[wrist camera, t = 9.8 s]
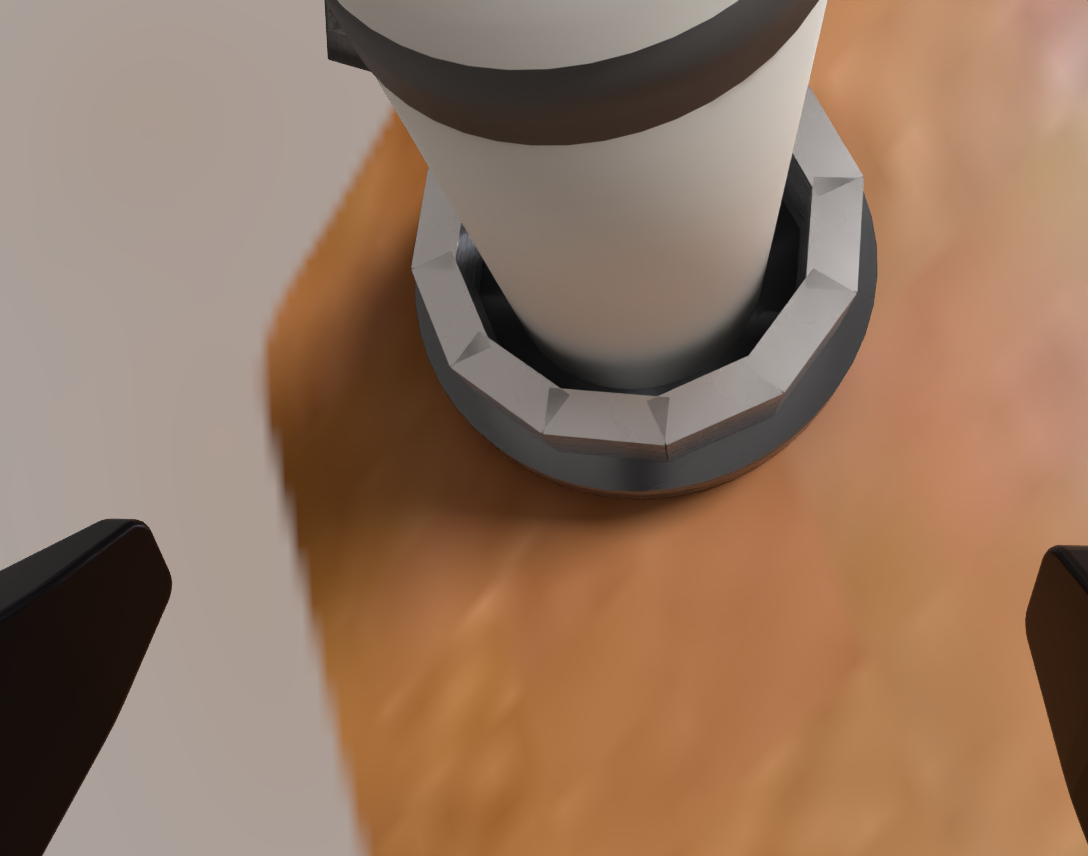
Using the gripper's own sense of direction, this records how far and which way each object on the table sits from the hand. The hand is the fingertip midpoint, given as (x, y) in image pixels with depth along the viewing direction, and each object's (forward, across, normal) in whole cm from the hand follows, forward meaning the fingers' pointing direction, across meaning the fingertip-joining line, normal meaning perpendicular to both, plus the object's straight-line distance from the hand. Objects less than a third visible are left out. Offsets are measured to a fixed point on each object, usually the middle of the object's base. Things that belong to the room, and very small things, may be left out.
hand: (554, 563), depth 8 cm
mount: (+13, 0, +2) cm, 14 cm away
